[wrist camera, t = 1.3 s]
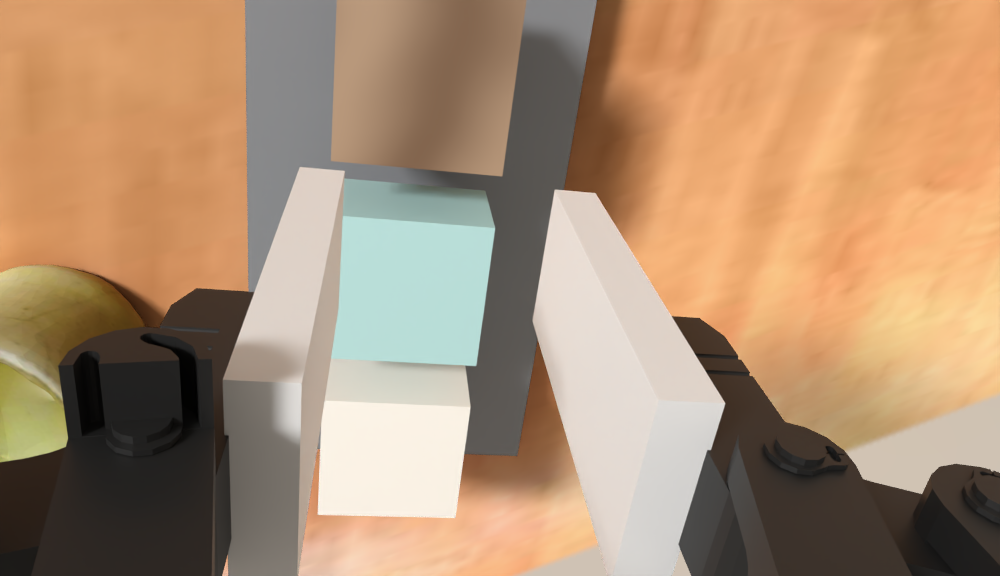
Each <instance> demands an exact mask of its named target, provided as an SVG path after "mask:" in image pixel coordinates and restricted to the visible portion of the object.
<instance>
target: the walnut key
mask: <svg viewBox="0 0 1000 576" xmlns="http://www.w3.org/2000/svg"><path fill="white" fill-rule="evenodd" d="M526 1H527V0H337V9H336V36H335V63H334V90H333V117H332V145H331V161H336V162H348V163H359V164H370V165H381V166H392V167H403V168H414V169H425V170H436V171H448V172H459V173H470V174H481V175H492V176H502V175H503V168H504V161H505V153H506V146H507V139H508V131H509V124H510V117H511V110H512V102H513V95H514V88H515V81H516V73H517V66H518V59H519V51H520V44H521V37H522V30H523V22H524V15H525V8H526Z"/></svg>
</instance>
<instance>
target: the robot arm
mask: <svg viewBox="0 0 1000 576" xmlns="http://www.w3.org/2000/svg"><path fill="white" fill-rule="evenodd" d="M344 176H345V171H340V170H329V169H318V168H306V167H300V168H299V171H298V173H297V176H296V179H295V182H294V184H293V187H292V190H291V193H290V196H289V198H288V201H287V204H286V207H285V209H284V212H283V215H282V218H281V220H280V223H279V226H278V229H277V231H276V234H275V237H274V240H273V242H272V245H271V248H270V251H269V253H268V256H267V259H266V262H265V264H264V267H263V270H262V273H261V276H260V278H259V281H258V284H257V287H256V289H255V292H245V291H230V290H214V289H198V288H197V289H195V290H194V291H192V292H191V293H189V294H187V295H186V296H184V297H183V298H181V299H180V300H178V301H177V302H175V303H174V304H172V305H171V307H170V309H169V310H168V312H167V314H166V316H165V318H164V320H163V321H162V323H161V325H160V328H152V327H139V328H131V329H122V330H115V331H112V332H108V333H105V334H102V335H99V336H96V337H93V338H89V339H88V340H86V341H84V342H83V343H81V344H79V345H78V346H76V347H74V348H73V349H71V350H69V351H68V353H67V354H66V355H65V357H64V358H63V360H62V361H61V362H60V364H59V365H58V369H59V376H60V384H61V391H62V398H63V405H64V413H65V420H66V427H67V435H68V440H67V444H66V447H64V448H61V449H59V450H56V451H53V452H50V453H46V454H42V455H37V456H33V457H29V458H24V459H17V460H11V461H5V462H0V576H222V574H223V570H224V566H225V562H226V558H227V555H228V576H298V573H299V566H300V560H301V553H302V546H303V540H304V533H305V527H306V520H307V513H308V507H309V500H310V494H311V487H312V480H313V474H314V467H315V461H316V454H317V447H318V441H319V434H320V428H321V421H322V414H323V408H324V401H325V395H326V388H327V381H328V375H329V368H330V362H331V355H332V348H333V342H334V335H335V329H336V322H337V315H338V308H339V286H340V264H341V242H342V220H343V198H344ZM533 325H534V328H535V331H536V335H537V338H538V341H539V345H540V348H541V352H542V355H543V358H544V362H545V365H546V369H547V372H548V375H549V379H550V382H551V386H552V389H553V392H554V396H555V399H556V403H557V406H558V409H559V413H560V416H561V420H562V423H563V426H564V430H565V433H566V437H567V440H568V443H569V447H570V450H571V454H572V457H573V460H574V464H575V467H576V471H577V474H578V477H579V481H580V484H581V488H582V491H583V494H584V498H585V501H586V504H587V508H588V511H589V515H590V518H591V521H592V525H593V528H594V532H595V535H596V538H597V542H598V545H599V548H600V552H601V555H602V559H603V562H604V566H605V569H606V572H607V575H608V576H672V574H673V571H674V568H675V565H676V561H677V558H678V555H679V552H680V550H681V552H682V554H683V557H684V559H685V562H686V564H687V566H688V568H689V571H690V573H691V576H1000V473H998V472H996V471H993V472H992V471H991V470H990V469H986V468H981V467H975V466H967V465H960V464H953V465H948V466H941V467H939V468H938V469H937V470H936V471H935V472H934V473H933V474H932V475H931V477H930V479H929V481H928V483H927V485H926V487H925V489H924V492H923V494H919V493H914V492H910V491H906V490H903V489H899V488H895V487H890V486H886V485H882V484H878V483H874V482H870V481H867V480H864V479H862V477H861V475H860V473H859V471H858V469H857V467H856V465H855V464H854V462H853V461H852V460H851V459H850V458H849V456H848V455H847V454H846V452H845V451H844V450H843V449H841V448H840V447H839V446H837V445H836V444H835V443H833V442H832V441H831V440H829V439H828V438H826V437H824V436H822V435H820V434H818V433H816V432H814V431H812V430H809V429H807V428H805V427H801V426H798V425H794V424H790V423H786V422H785V421H784V420H783V419H782V417H781V416H780V414H779V413H778V412H777V410H776V409H775V407H774V406H773V404H772V403H771V402H770V400H769V399H768V397H767V396H766V395H765V393H764V392H763V390H762V389H761V387H760V386H759V385H758V383H757V382H756V380H755V379H754V378H753V376H749V373H750V372H749V371H748V369H747V368H746V366H745V365H744V363H743V362H742V361H741V360H738V355H737V354H736V352H735V351H734V349H733V348H732V346H731V345H730V344H729V342H728V341H727V339H726V338H725V337H724V336H723V335H722V334H721V333H719V332H718V331H716V330H715V329H714V328H712V327H711V326H709V325H708V324H707V323H705V322H704V321H703V320H701V319H700V318H689V317H674V316H671V315H670V313H669V311H668V310H667V308H666V307H665V305H664V303H663V302H662V300H661V298H660V297H659V295H658V294H657V292H656V290H655V289H654V287H653V286H652V284H651V282H650V281H649V279H648V277H647V276H646V274H645V273H644V271H643V269H642V268H641V266H640V264H639V263H638V261H637V260H636V258H635V256H634V255H633V253H632V252H631V250H630V248H629V247H628V245H627V243H626V242H625V240H624V239H623V237H622V235H621V234H620V232H619V230H618V229H617V227H616V226H615V224H614V222H613V221H612V219H611V218H610V216H609V214H608V213H607V211H606V209H605V208H604V206H603V205H602V203H601V201H600V200H599V198H598V196H597V195H596V193H589V192H578V191H566V190H555V191H554V197H553V203H552V209H551V215H550V221H549V226H548V232H547V238H546V244H545V250H544V256H543V262H542V268H541V274H540V280H539V285H538V291H537V297H536V303H535V309H534V315H533Z"/></svg>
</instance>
